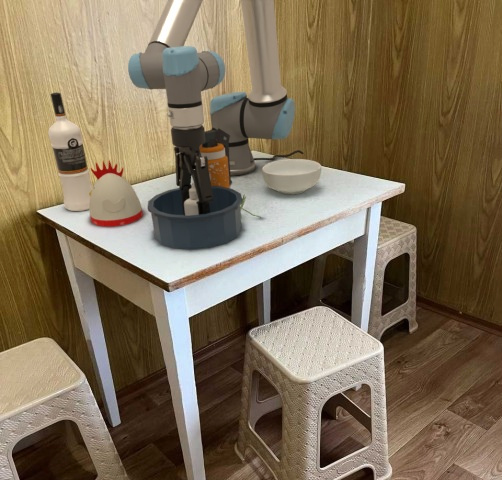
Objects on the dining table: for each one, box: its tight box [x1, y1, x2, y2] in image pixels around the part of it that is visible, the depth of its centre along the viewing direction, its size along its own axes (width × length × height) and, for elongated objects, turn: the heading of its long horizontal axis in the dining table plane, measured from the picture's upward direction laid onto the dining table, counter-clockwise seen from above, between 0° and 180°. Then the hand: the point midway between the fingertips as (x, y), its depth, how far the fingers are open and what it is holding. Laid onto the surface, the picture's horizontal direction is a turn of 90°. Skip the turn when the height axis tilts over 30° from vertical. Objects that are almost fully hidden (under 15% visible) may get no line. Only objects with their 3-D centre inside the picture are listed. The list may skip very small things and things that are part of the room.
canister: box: [200, 127, 233, 188], centre depth 140 cm, size 9×11×20 cm
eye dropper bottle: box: [184, 182, 199, 216], centre depth 126 cm, size 4×6×12 cm
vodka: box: [47, 92, 93, 212], centre depth 141 cm, size 9×9×30 cm
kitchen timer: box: [88, 159, 144, 228], centre depth 136 cm, size 14×14×15 cm
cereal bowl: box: [261, 158, 322, 195], centre depth 151 cm, size 17×17×7 cm
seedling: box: [240, 194, 262, 219], centre depth 134 cm, size 7×8×7 cm
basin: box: [147, 186, 243, 250], centre depth 127 cm, size 23×23×8 cm
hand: (197, 221), depth 128 cm, fingers open, 9 cm apart
